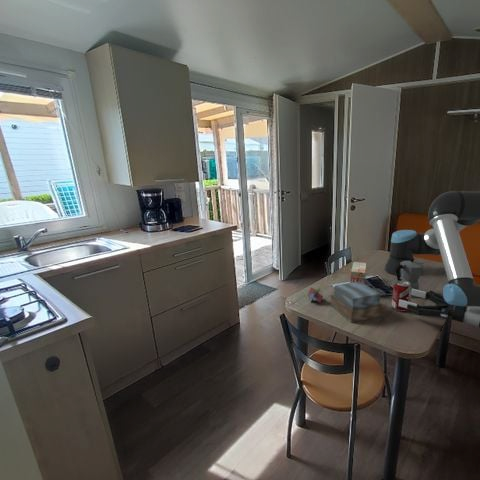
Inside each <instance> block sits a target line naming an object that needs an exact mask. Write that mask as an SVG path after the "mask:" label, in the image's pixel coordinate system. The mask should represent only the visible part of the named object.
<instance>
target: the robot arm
mask: <svg viewBox="0 0 480 480" xmlns="http://www.w3.org/2000/svg"><path fill="white" fill-rule="evenodd" d="M427 213H428V214H427V218H428V219H427V220H428V223H429V225H430V226H431V227H432V228H430V229H428V230H426V232H424V233H422V232H417V231H415V230H414V229H401V230H400V229H399V230H397V231H394V232H392V235H391V238H390V239H391V240H390V248H389V249H390V250H389V256H388V257H389V258H388V259H387V261H386V263H385V265H384V271H385V272H386V273H387V274H390V275H395V276H397V275H396V270H395V269H396V267H397V266H398V265H400V263H401V262H402V261H411V260H410V258H414V255H426V256H427V255H429V256H430V255H431V256H432V255H433V256H439V255H440V256H441V259H442V260H441V261H442V264H443V267H444V272H445V274H446V279H447V282H448V283H447V284H444V286H443V289H442V293H443V294H440V293H437V292H435V291H432V290H429V291H423V290H420V289H419V290H416V289H412V291H411V295H414V296H417V297H419V298H422V299H426V300H429V301H431V302H432V303H434V305H420V304H419V303H414V302H411V301H410V302H407V301H404V300H400V299H399V305H398V306H400V307H404V308H407V309H409V310H411V311H414V312H416V315H417V316H420V317H421V316H423V317H430V318H431V317H432V318H440V319H444V320H447V319H448V316H450V317H451V320H453V321H456V322H459V323H465V324H466V325H469V326H472V327H477V328H480V284H476V282H475V280H474V277H473V274H472V270H471V267H470V264H469V261H468V258H467V257H468V256H467V254H466V250H465V248H464V245H463V241H462V238H461V235H460V232H461V231H462V230H464V229H465V228H466V227H471V226H475V225H477V224H478V223H479V222H480V190H469V191H467V190H465V191H463V190H461V191H459V190H458V191H456V190H455V191H452V190H451V191H447V192H443V193H442V194H440V195H438V196H437V197H436V198H435V199H434V200H433V201H432V202H431V204H430V206H429V208H428V212H427ZM399 271H400V277H402V276H401V269H400V270H399ZM417 297H416V298H417Z"/></svg>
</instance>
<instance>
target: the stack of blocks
mask: <svg viewBox="0 0 480 480" xmlns="http://www.w3.org/2000/svg"><path fill="white" fill-rule="evenodd" d="M366 271H367V263H366V262H357V261H353V262H352V267H351V271H350V282H349V283H353V282H359V281H360V282H362V283H364V284H365V283H366V275H367V273H366ZM365 285H366V284H365Z"/></svg>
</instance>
